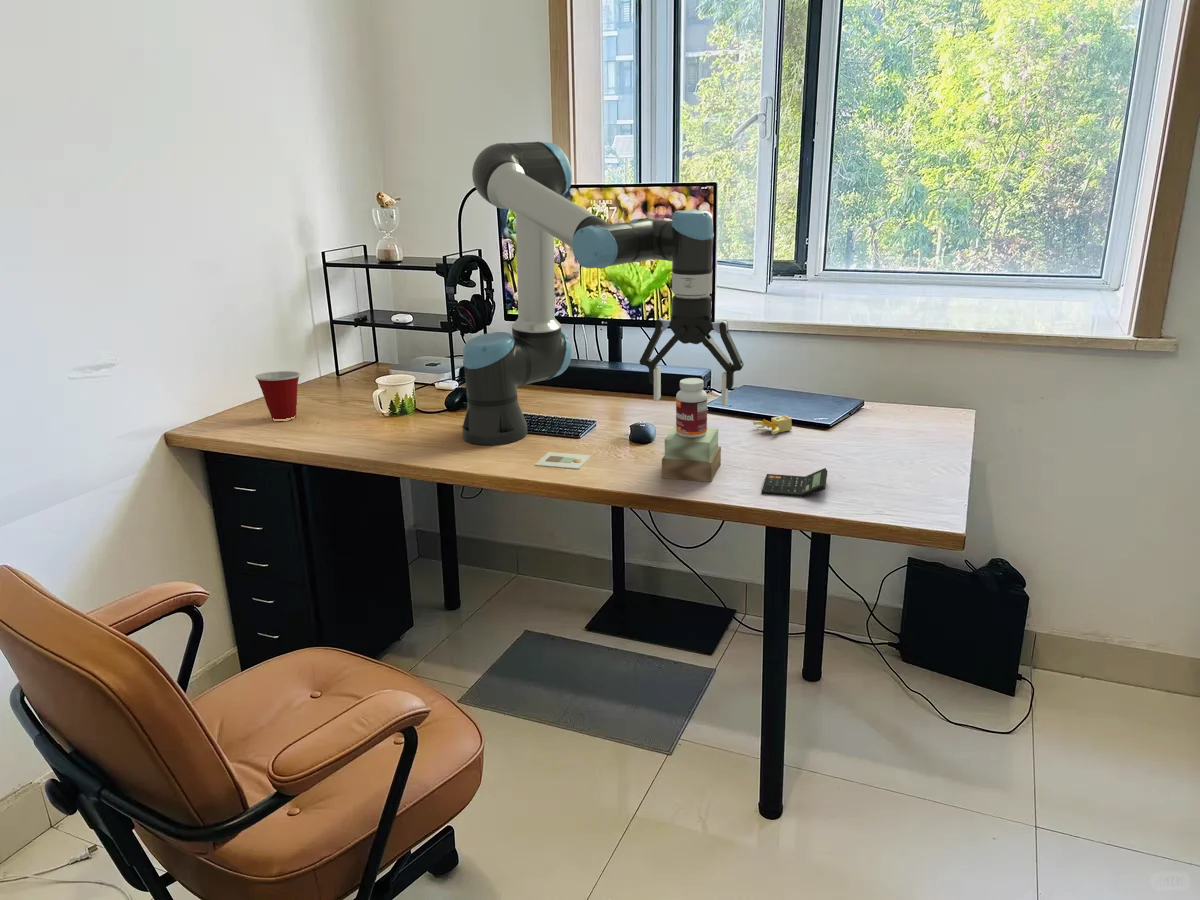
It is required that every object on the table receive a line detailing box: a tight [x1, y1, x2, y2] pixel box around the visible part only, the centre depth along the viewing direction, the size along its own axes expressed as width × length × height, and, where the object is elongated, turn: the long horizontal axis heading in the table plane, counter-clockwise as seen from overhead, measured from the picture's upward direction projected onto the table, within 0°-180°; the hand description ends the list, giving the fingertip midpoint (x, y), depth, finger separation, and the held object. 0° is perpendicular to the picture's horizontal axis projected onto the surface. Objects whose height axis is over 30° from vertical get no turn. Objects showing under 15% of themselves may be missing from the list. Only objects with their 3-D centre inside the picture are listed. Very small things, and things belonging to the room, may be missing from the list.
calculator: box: [761, 467, 828, 498], centre depth 164 cm, size 9×12×3 cm
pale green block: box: [661, 425, 722, 483], centre depth 173 cm, size 10×10×8 cm
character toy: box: [752, 414, 793, 435], centre depth 196 cm, size 8×3×8 cm
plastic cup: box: [255, 370, 301, 419], centre depth 218 cm, size 11×11×12 cm
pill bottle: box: [675, 377, 708, 438], centre depth 170 cm, size 6×6×11 cm
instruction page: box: [534, 451, 592, 470], centre depth 183 cm, size 10×8×1 cm
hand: (690, 401), depth 170 cm, fingers open, 13 cm apart
